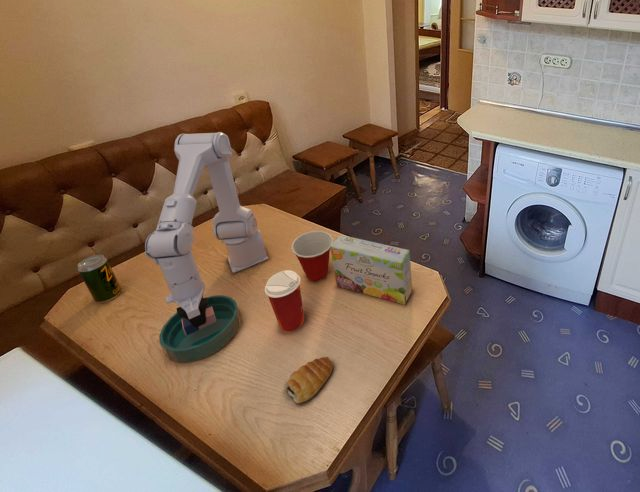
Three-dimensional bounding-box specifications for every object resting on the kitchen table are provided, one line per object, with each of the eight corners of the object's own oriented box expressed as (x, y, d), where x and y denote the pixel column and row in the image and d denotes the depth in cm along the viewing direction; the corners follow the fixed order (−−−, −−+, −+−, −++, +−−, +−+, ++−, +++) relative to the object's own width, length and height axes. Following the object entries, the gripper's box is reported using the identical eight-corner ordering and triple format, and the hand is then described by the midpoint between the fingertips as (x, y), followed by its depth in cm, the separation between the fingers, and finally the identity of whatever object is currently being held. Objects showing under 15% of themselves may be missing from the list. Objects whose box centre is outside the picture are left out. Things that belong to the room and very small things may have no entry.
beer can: (92, 307, 92) (73, 271, 88) (97, 293, 97) (79, 258, 92) (120, 298, 95) (103, 263, 90) (123, 285, 99) (107, 251, 95)
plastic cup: (320, 293, 98) (313, 259, 93) (289, 282, 102) (282, 249, 97) (345, 267, 108) (340, 235, 103) (316, 257, 111) (310, 226, 106)
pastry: (321, 355, 82) (319, 344, 80) (340, 372, 78) (338, 361, 77) (282, 390, 75) (279, 378, 73) (301, 410, 71) (298, 398, 70)
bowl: (234, 298, 96) (230, 286, 94) (247, 337, 86) (243, 324, 84) (163, 330, 87) (157, 317, 85) (168, 378, 76) (161, 364, 75)
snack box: (335, 288, 100) (328, 245, 94) (346, 274, 105) (340, 232, 99) (404, 306, 95) (402, 262, 89) (413, 290, 100) (411, 248, 94)
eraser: (214, 313, 88) (211, 305, 87) (216, 321, 85) (213, 314, 84) (184, 327, 84) (181, 319, 83) (185, 336, 82) (182, 328, 81)
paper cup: (315, 314, 92) (306, 273, 86) (293, 340, 85) (282, 297, 80) (291, 306, 94) (281, 265, 89) (267, 330, 87) (255, 287, 82)
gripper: (157, 265, 81) (175, 308, 87) (161, 305, 71) (181, 351, 77) (195, 252, 86) (210, 294, 91) (203, 288, 76) (220, 332, 81)
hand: (199, 319), depth 84 cm, fingers closed on eraser, 3 cm apart
